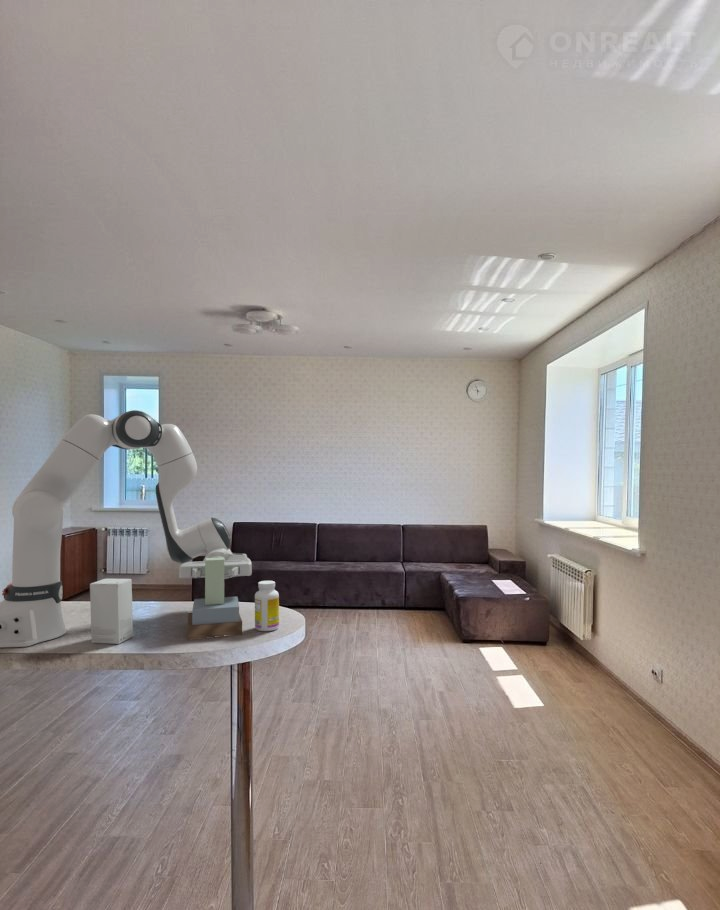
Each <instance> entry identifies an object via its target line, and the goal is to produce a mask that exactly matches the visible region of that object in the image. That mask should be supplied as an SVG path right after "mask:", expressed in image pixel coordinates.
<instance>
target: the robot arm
mask: <svg viewBox="0 0 720 910" xmlns="http://www.w3.org/2000/svg"><path fill="white" fill-rule="evenodd" d="M111 447H115V448H119V449H122V450H126V451H127V450H139V449H140V448H141V449H142V448H143V449H146V450H147V451H149V452H150V454H151V455H152V456H153V458H154V461H155V464H156V466H157V469H158V472H159V480H158V483H157V484H156V485H155V498H156V501H157V502H156V503H157V507H158V510H159V515H160V520H161V525H162V528H163V532H164V538H165V545H166V552H167V555H168V556H169V558H170V559H171V560H172V561H173V562H175V563H178V564H180V565H179V566H178V577H179V578H180V579H201V578H202V579H203V578H204V579H205V560H206V558H219V557H224V580H228V579H230V578H236V577H237V578H238V577H245V576H247V577H250V576H252V573H253V570H252V569H253V568H252V567H253V566H252V563H253V562H252V561H251V559H250V558H249V557H248V555H247V554H246V553H240V552H232V550H231V549H230V548H231V547H230V546H231V544H232V540H231V537H230V534H229V531H228V529H227V527H226V526H225V524H224V522H222V521H221V520H220V519H218V518H216V517H209V518H207V519H204V520H201V521H199V522H198V523H196V524H195V523H194V524H193V525H190V526H189V527H186V528H182V529H179V527H178V523H177V518H176V514H175V510H174V501H175V499H176V498H177V496H178V495H179V494H180V493H181V492H182V491H183V490H185V489H186V488H187V487H189V485H190V484H191V483H192V482H193V480H194V479H195V478H196V475H197V473H198V464H197V461H196V457H195V454H194V453H193V450H192V447H191V446H190V444H189V441H187V439H186V437H185V435H184V433H183V432H182V431H181V429H180V428H179V426H177V425H175V424H174V423H163V424H161V423H160V422H158V421H156V420H155V419H154V418H153V417H152V416H150V415H149V414H147V413H146V412H144V411H142V410H137V409H135V410H132V409H131V410H129V411H126V412H124V413H121V414H119V415H118V416H116V417H115V418H113V419H106V418H104V417H103V416H101V415H98V414H94V413H93V414H92V413H90V414H85V415H84V416H82V417H81V418H80V419H79V420H78V421H77V422H76V423H75V424H73V425H72V427H71V428H70V429H68V431H67V432H66V434H65V435H64V436H63V437H62V439H61V440H60V441H59V443H58V444H57V445H56V447H55V448H54V450H52V452H51V453H50V455H49V456H48V458H47V459H46V460H45V462H44V463H43V464H42V466H41V467H40V468H39V469H38V471H37V472H36V473H35V474H34V475H33V477H32V478H31V479H30V480H29V482H28V483H27V484H26V486H25V487H24V488H23V489H22V490H21V492H20V493H19V495H18V496H17V497H16V499H15V500H14V502H13V505H12V511H11V512H12V513H11V514H12V516H13V537H12V565H11V566H12V572H11V573H12V581H11V583H9V584H8V585H6V587H5V588H3V590H2V591H1V592H2V593H1V596H3V600H1V601H0V648H19V647H21V648H22V647H30V646H33V645H35V644H39V643H43V642H45V641H46V642H47V641H50V640H53V639H56V638H59V637H62V636H63V635H65V634H66V633H67V631H68V630H67V628H66V625H65V620H64V617H63V610H62V601H63V600H62V599H63V581H62V580H61V548H62V547H61V546H62V538H63V537H62V535H63V524H64V523H63V522H64V518H63V517H64V507H65V506H66V505H67V503H68V502H69V500H70V499H72V497H73V496H74V495H75V494H76V492H77V491H78V490H79V489H80V488H81V486H82V485H83V484H84V483H85V481H86V480H87V479H88V478H89V475H90V474H91V473H92V472H93V470H94V468H96V466H97V464H98V463H99V461H100V460H101V458H102V457H103V455H104V454H105V452H106V451H107V450H108V449H109V448H111ZM204 554H205V557H204V558H203V560H202V561H193V560H194V559H195V558H198V557H199V556H203V555H204Z"/></svg>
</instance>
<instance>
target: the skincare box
mask: <svg viewBox="0 0 720 910" xmlns="http://www.w3.org/2000/svg"><path fill="white" fill-rule="evenodd" d="M132 581H133V579H132V578H103V579H100V580H97V581H94V582H91V583H89V597H90V600H89V601H90V627H91V628H90V629H91V631H90V633H91V635H90V636H91V644H111V645H121V644H122V643H124V642H126V641H128V640H129V639H132V638H133V637H134V622H133V621H134V619H133V617H134V615H133V590H132V589H133V583H132Z"/></svg>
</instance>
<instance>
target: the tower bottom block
mask: <svg viewBox="0 0 720 910" xmlns="http://www.w3.org/2000/svg"><path fill="white" fill-rule="evenodd" d="M238 634H242V635H243V620H242V617H241V614H240V613H239V622H228V623H215V624H201V625H192V612H187V641H192V640H191V639H194V640H200V639H199V638H204V639H208V638H207V637H214V638H216V637H215V636H224V635H235V636H239V635H238Z"/></svg>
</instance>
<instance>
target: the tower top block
mask: <svg viewBox="0 0 720 910" xmlns="http://www.w3.org/2000/svg"><path fill="white" fill-rule="evenodd" d="M239 605H240V604H239V598H238V596H224V604H213V605H205V597H204V598H194V600H193V605H192V612H191V613H192V625H201V624H215V623H228V622H239V614H240V606H239Z"/></svg>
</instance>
